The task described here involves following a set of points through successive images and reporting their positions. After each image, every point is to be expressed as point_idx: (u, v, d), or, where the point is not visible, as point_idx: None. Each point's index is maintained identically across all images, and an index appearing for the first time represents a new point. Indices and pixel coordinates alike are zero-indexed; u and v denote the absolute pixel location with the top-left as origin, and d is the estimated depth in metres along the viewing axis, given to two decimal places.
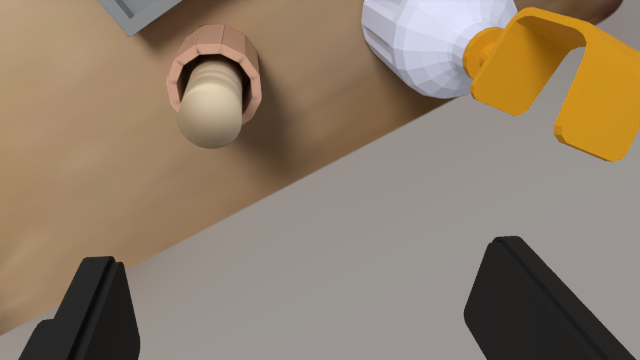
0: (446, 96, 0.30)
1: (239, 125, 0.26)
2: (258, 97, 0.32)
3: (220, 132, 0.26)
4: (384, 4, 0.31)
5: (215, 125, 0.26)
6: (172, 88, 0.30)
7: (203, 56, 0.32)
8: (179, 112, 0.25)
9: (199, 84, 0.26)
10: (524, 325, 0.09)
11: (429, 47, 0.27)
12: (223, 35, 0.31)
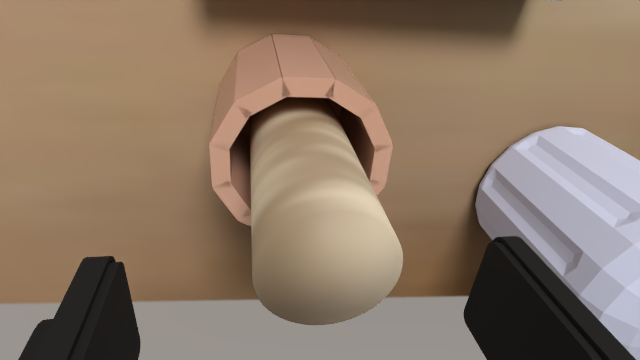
0: None
1: (371, 305, 0.11)
2: None
3: (327, 300, 0.11)
4: (577, 182, 0.21)
5: (331, 286, 0.11)
6: (235, 120, 0.14)
7: None
8: (286, 229, 0.10)
9: (347, 182, 0.11)
10: (524, 325, 0.09)
11: None
12: None
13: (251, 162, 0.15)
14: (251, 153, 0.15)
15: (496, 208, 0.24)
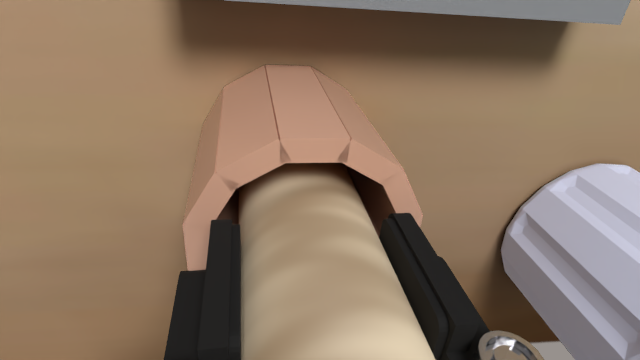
0: None
1: None
2: None
3: None
4: (633, 239, 0.17)
5: None
6: (217, 194, 0.10)
7: None
8: None
9: (378, 314, 0.07)
10: None
11: None
12: (375, 130, 0.13)
13: None
14: None
15: (529, 260, 0.21)
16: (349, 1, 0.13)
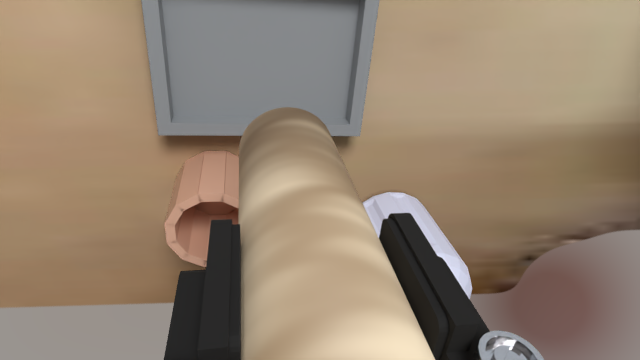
0: None
1: None
2: None
3: None
4: None
5: None
6: (176, 213, 0.29)
7: (303, 140, 0.14)
8: None
9: (378, 315, 0.07)
10: None
11: None
12: None
13: None
14: None
15: None
16: (233, 133, 0.32)
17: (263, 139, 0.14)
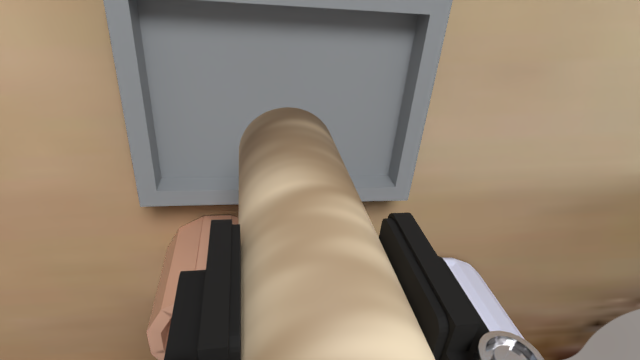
0: None
1: None
2: None
3: None
4: None
5: None
6: (163, 318, 0.21)
7: (303, 140, 0.13)
8: None
9: (378, 315, 0.07)
10: None
11: None
12: None
13: None
14: None
15: None
16: None
17: (263, 139, 0.14)
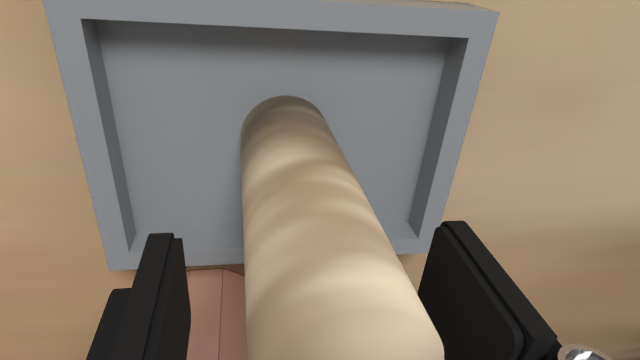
0: None
1: None
2: None
3: None
4: None
5: None
6: None
7: (300, 123, 0.15)
8: (294, 336, 0.07)
9: (369, 257, 0.08)
10: (462, 304, 0.10)
11: None
12: None
13: (244, 215, 0.12)
14: (243, 202, 0.13)
15: None
16: (233, 260, 0.19)
17: (264, 123, 0.15)
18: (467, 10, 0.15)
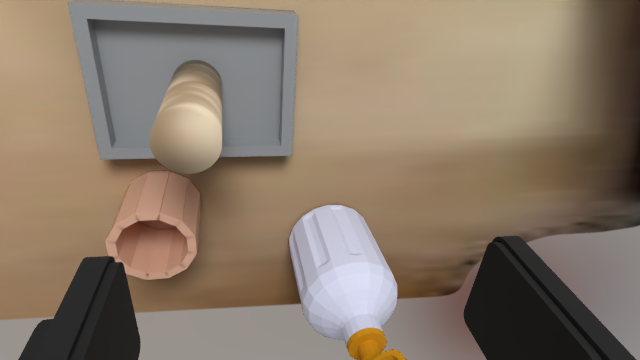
0: (325, 336, 0.37)
1: (211, 163, 0.24)
2: (185, 266, 0.35)
3: (188, 159, 0.24)
4: (316, 242, 0.39)
5: (188, 150, 0.23)
6: (116, 231, 0.32)
7: (195, 70, 0.30)
8: (161, 118, 0.22)
9: (195, 103, 0.24)
10: (524, 325, 0.09)
11: (332, 309, 0.34)
12: (185, 203, 0.35)
13: None
14: None
15: (291, 253, 0.42)
16: None
17: (179, 71, 0.30)
18: (281, 14, 0.31)
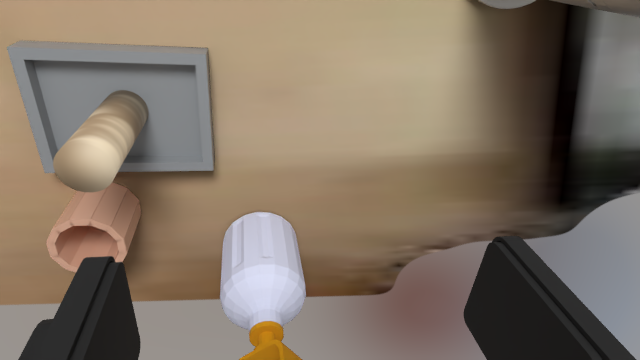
0: (241, 327, 0.43)
1: (107, 184, 0.30)
2: None
3: (87, 180, 0.29)
4: (238, 245, 0.45)
5: (87, 174, 0.29)
6: (54, 234, 0.38)
7: (116, 101, 0.35)
8: (61, 149, 0.28)
9: (94, 136, 0.29)
10: (524, 325, 0.09)
11: (240, 304, 0.40)
12: (118, 210, 0.41)
13: None
14: None
15: (222, 254, 0.48)
16: None
17: (104, 101, 0.36)
18: (191, 53, 0.36)
